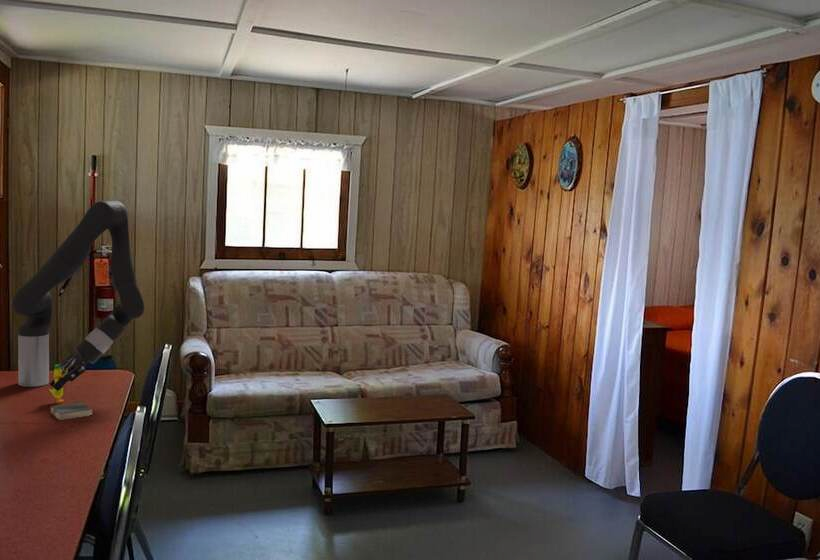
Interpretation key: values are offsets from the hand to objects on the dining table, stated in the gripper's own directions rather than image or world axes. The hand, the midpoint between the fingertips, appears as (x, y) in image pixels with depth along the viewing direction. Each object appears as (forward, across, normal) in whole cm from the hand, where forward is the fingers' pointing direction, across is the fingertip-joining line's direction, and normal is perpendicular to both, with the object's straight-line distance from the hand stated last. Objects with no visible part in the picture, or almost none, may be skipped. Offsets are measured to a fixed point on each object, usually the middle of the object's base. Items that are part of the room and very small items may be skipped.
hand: (53, 387), depth 219 cm
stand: (+3, +15, +4) cm, 16 cm away
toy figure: (+2, 0, +5) cm, 6 cm away
